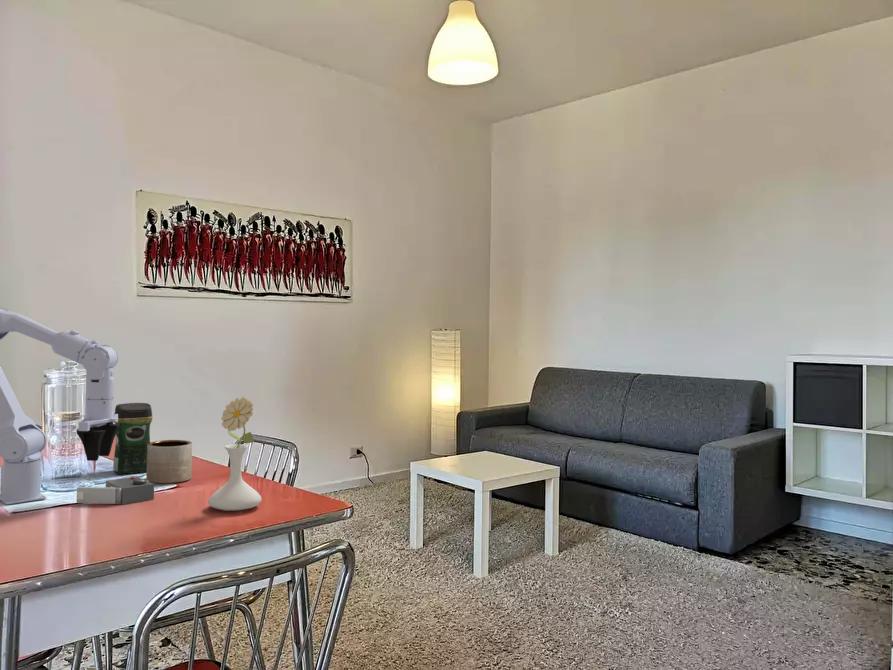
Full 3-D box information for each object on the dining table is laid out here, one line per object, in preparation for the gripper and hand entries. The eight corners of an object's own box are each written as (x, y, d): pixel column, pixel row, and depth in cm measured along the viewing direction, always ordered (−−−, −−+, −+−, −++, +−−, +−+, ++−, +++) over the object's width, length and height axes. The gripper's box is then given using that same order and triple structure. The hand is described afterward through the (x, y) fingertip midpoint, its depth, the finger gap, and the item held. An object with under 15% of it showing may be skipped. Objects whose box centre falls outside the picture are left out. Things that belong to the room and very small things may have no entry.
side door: (75, 503, 153) (75, 488, 153) (78, 501, 154) (79, 486, 154) (118, 504, 153) (119, 489, 153) (121, 502, 154) (121, 487, 154)
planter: (192, 483, 175) (193, 445, 175) (145, 486, 171) (146, 447, 171) (191, 474, 185) (191, 439, 185) (147, 476, 181) (147, 440, 181)
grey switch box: (105, 495, 161) (105, 477, 161) (136, 491, 166) (136, 473, 166) (122, 504, 154) (122, 485, 154) (153, 499, 159) (154, 480, 159)
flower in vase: (200, 506, 154) (202, 394, 153) (248, 499, 161) (250, 392, 161) (223, 519, 144) (225, 400, 143) (273, 511, 151) (276, 397, 151)
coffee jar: (148, 467, 193) (150, 400, 193) (154, 472, 186) (155, 403, 186) (110, 470, 188) (112, 402, 188) (114, 475, 181) (116, 405, 181)
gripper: (102, 402, 150) (100, 464, 150) (131, 395, 164) (130, 452, 165) (69, 401, 150) (68, 464, 150) (101, 395, 164) (100, 451, 164)
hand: (98, 458), depth 157 cm, fingers open, 5 cm apart
